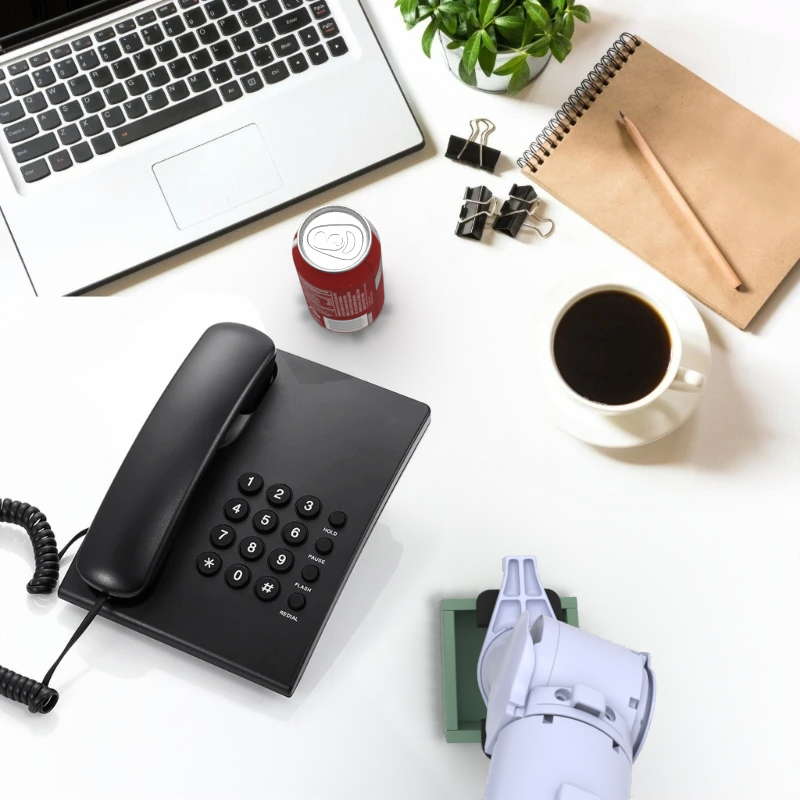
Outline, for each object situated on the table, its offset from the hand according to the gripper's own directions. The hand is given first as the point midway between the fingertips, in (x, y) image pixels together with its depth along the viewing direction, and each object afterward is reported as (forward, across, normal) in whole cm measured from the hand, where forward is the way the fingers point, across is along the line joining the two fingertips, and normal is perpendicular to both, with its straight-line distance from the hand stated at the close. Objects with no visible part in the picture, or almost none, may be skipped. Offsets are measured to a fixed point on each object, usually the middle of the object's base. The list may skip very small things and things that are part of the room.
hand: (508, 666), depth 59 cm
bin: (+4, 0, 0) cm, 4 cm away
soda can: (+4, +30, +12) cm, 33 cm away
